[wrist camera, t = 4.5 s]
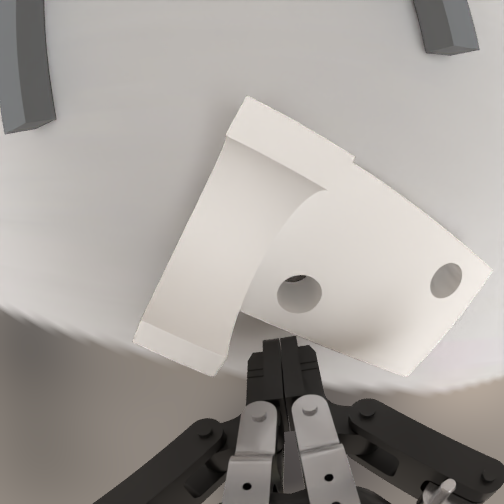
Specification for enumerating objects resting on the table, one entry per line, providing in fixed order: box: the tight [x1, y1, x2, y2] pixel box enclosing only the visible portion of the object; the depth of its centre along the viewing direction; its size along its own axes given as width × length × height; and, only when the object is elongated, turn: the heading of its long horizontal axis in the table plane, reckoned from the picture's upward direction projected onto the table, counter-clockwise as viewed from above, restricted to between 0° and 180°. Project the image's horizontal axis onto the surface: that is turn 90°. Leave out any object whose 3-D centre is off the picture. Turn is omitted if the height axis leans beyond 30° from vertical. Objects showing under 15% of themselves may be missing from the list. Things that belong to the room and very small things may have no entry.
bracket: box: [132, 96, 493, 377], centre depth 12 cm, size 13×7×8 cm, turn 62°
